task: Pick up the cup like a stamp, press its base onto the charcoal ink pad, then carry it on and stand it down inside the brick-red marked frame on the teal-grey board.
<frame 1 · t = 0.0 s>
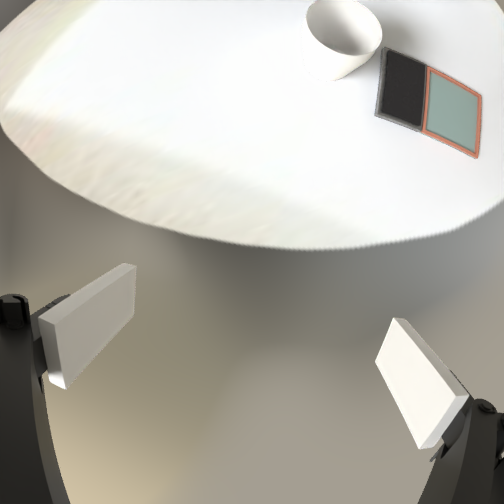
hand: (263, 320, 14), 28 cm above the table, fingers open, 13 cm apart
ink pad: (401, 89, 35), on the table
cup: (326, 62, 35), on the table
print frame: (452, 112, 35), on the table
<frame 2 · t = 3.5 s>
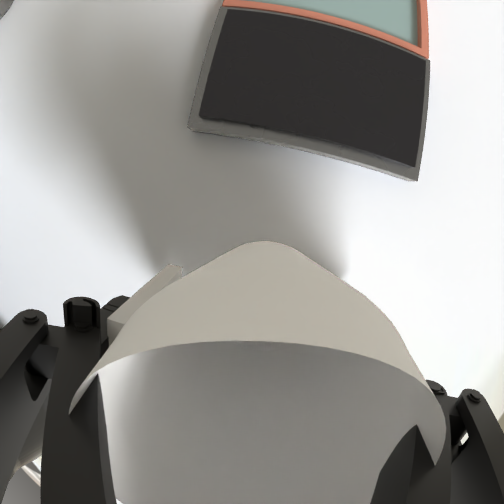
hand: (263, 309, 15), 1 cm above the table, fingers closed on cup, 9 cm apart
ink pad: (318, 87, 14), on the table
cup: (264, 297, 17), on the table, touching gripper
cup 2: (2, 8, 12), on the table
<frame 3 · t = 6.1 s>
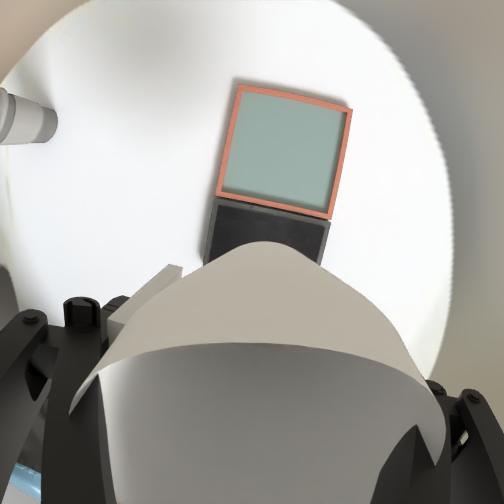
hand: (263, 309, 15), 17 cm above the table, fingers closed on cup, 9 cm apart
ink pad: (265, 243, 31), on the table
cup: (264, 298, 17), point 15 cm above the table, touching gripper
cup 2: (47, 126, 29), on the table
print frame: (285, 150, 29), on the table
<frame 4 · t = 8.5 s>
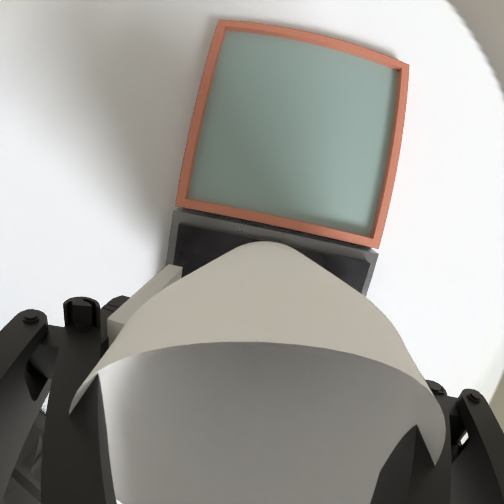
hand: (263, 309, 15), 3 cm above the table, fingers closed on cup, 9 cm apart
ink pad: (265, 287, 18), on the table
cup: (264, 297, 17), point 2 cm above the table, touching gripper, ink pad
print frame: (299, 124, 16), on the table
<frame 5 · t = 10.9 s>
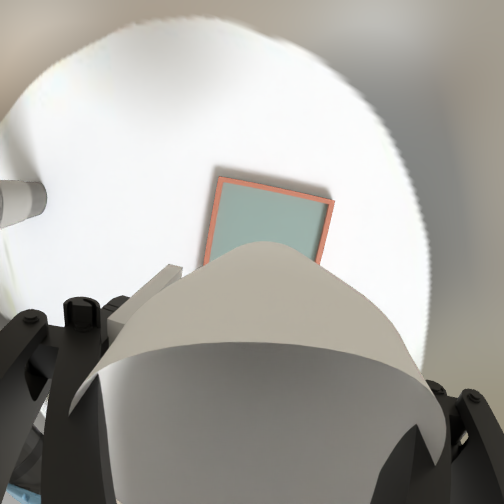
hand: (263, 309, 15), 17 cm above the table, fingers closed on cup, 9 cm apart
cup: (264, 297, 17), point 15 cm above the table, touching gripper
cup 2: (37, 198, 32), on the table
print frame: (265, 243, 31), on the table
when the fingers open (3 cm above the table, at t = 13.3 s): cup drops 1 cm, resting on print frame.
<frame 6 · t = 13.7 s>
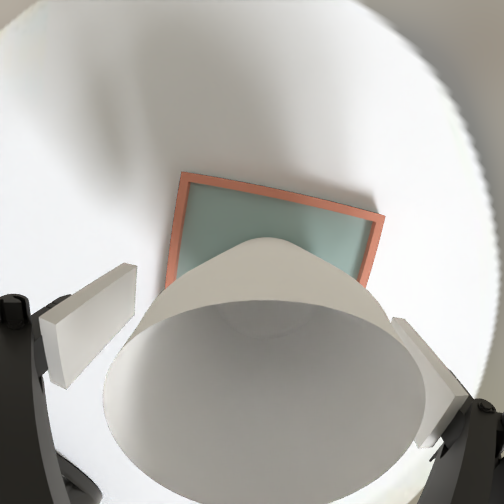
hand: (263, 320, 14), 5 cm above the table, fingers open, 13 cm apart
cup: (266, 289, 18), resting on print frame
print frame: (264, 286, 18), on the table
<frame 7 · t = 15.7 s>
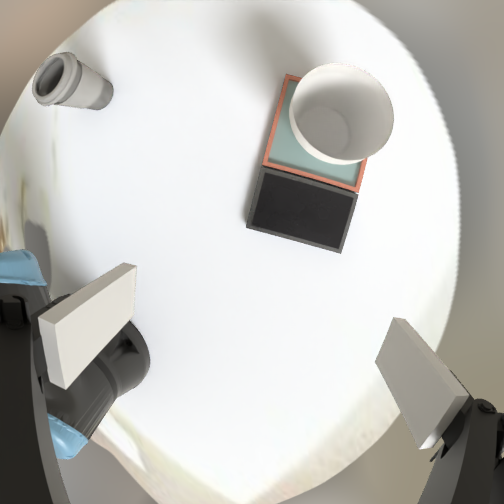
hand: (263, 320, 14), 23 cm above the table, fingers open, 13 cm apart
ink pad: (302, 209, 35), on the table
cup: (323, 132, 33), resting on print frame
cup 2: (101, 95, 34), on the table
print frame: (322, 132, 33), on the table
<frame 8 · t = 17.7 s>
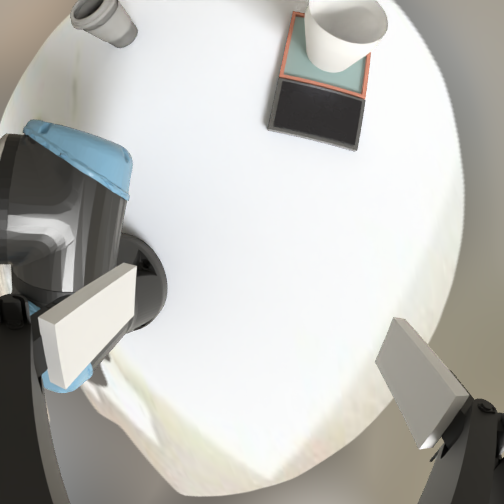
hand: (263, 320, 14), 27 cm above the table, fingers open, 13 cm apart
ink pad: (317, 114, 36), on the table
cup: (329, 53, 33), resting on print frame
cup 2: (125, 36, 34), on the table
print frame: (327, 53, 33), on the table
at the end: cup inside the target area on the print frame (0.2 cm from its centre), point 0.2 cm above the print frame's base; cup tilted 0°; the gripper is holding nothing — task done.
